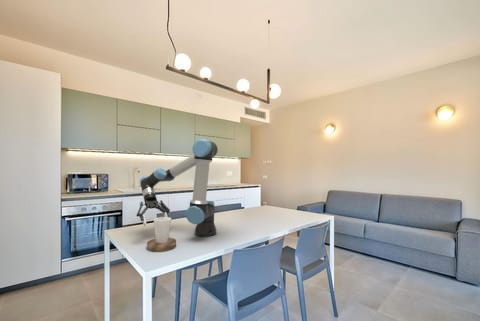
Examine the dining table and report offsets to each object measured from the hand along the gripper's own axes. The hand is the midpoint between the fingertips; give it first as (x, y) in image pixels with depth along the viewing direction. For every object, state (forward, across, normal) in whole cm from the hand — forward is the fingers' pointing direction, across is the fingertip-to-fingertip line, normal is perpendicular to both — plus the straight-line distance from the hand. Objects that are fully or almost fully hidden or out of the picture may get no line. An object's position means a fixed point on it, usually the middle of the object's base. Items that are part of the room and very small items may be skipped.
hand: (156, 223), depth 137 cm
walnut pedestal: (+15, 0, -2) cm, 15 cm away
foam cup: (+13, 0, 0) cm, 13 cm away
